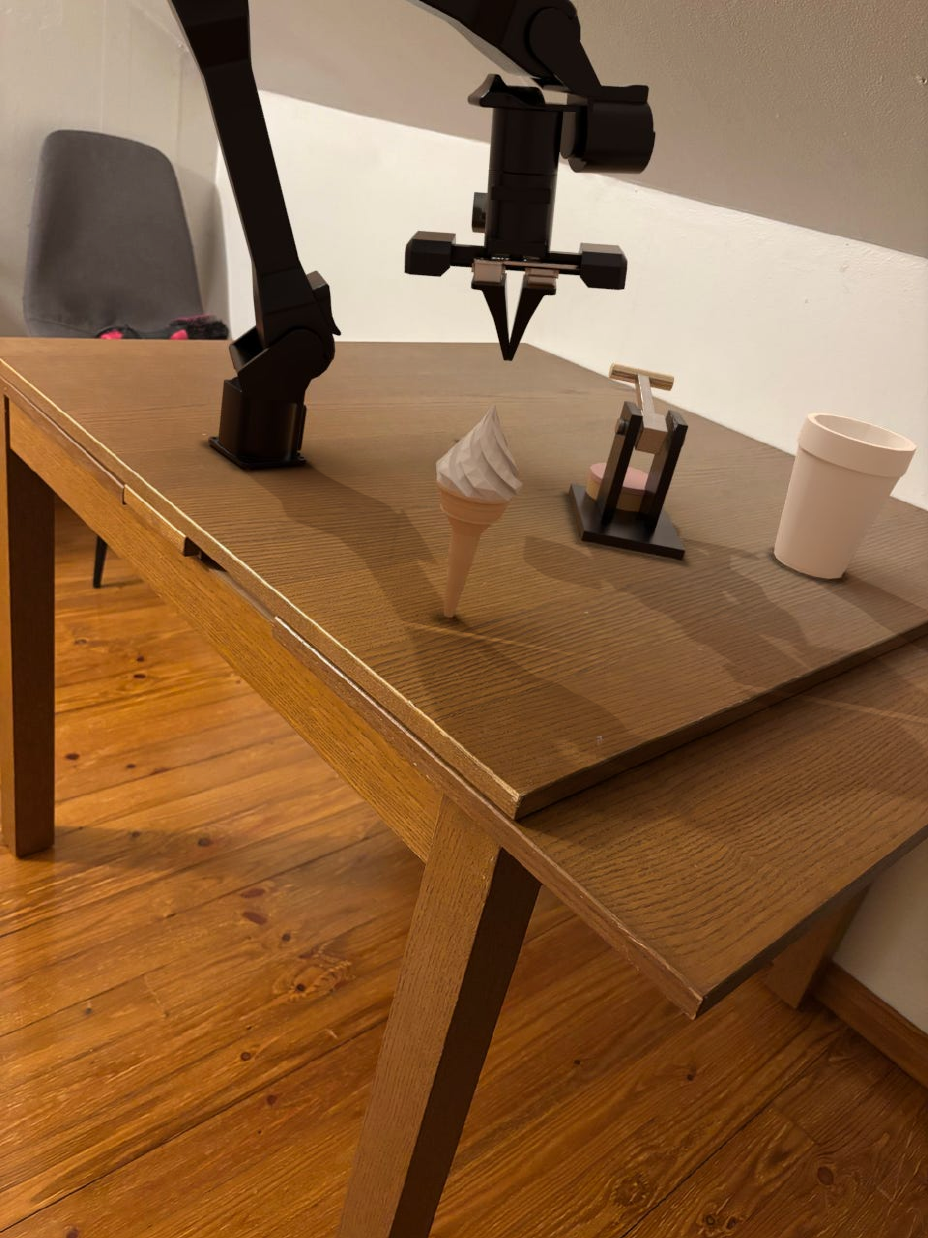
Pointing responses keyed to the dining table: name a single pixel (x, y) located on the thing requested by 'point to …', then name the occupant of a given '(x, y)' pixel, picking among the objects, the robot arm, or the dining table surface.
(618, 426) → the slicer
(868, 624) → the dining table surface
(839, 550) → the foam cup
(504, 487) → the ice cream cone
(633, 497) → the cake
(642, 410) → the lever
